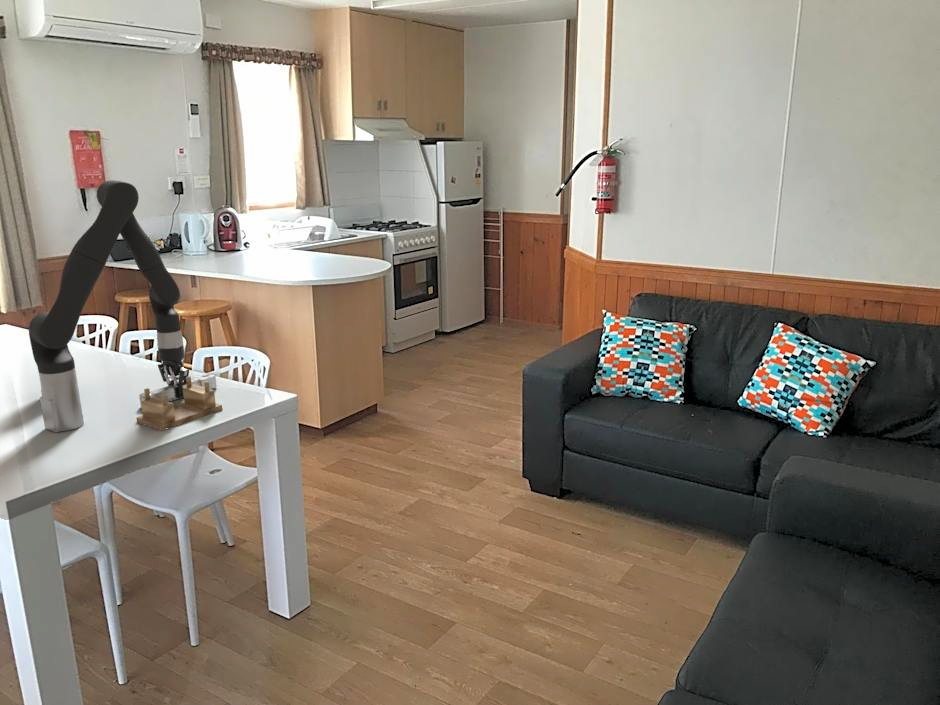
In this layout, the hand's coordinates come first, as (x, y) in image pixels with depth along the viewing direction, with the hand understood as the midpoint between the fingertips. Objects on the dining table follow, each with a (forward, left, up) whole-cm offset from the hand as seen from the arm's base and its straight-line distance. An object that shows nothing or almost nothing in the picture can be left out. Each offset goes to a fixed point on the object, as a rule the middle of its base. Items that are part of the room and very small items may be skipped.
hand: (176, 396), depth 241 cm
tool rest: (-9, -15, -1) cm, 17 cm away
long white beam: (0, 0, 0) cm, 0 cm away
